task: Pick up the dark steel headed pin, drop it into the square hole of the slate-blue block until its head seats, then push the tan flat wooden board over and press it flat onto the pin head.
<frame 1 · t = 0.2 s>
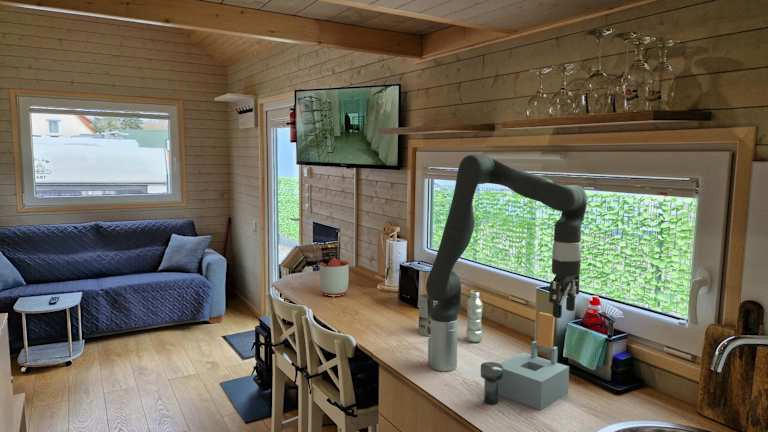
hand: (563, 313, 149), 29 cm above the table, tool pointing down, fingers open, 8 cm apart
coffee box: (431, 333, 219), on the table
pale green pot: (333, 294, 279), on the table
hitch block: (531, 392, 164), on the table
plastic bottle: (474, 341, 209), on the table
pin: (491, 401, 158), on the table
tan flat wooden board: (545, 332, 167), point 17 cm above the table, hinge at -95.0°
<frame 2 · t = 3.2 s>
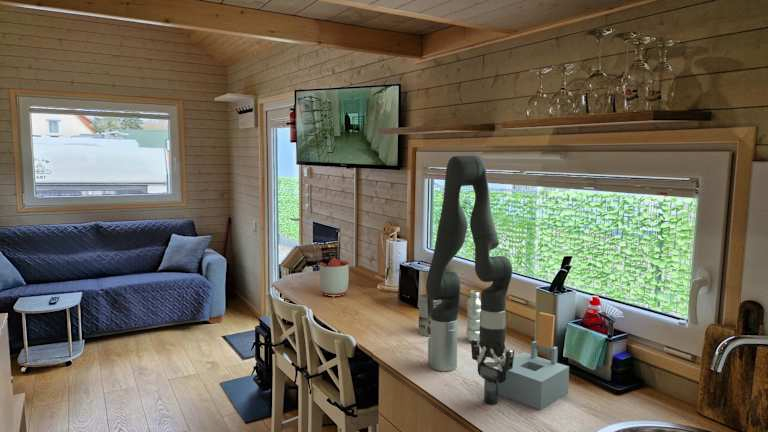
hand: (491, 378, 157), 7 cm above the table, tool pointing down, fingers closed on pin, 6 cm apart
pin: (490, 401, 158), on the table, touching gripper
everything else where it was.
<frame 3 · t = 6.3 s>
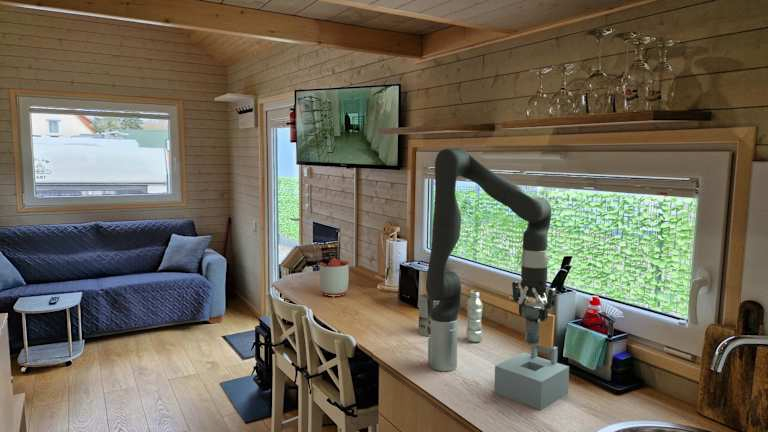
hand: (532, 318, 161), 24 cm above the table, tool pointing down, fingers closed on pin, 6 cm apart
pin: (532, 341, 162), point 17 cm above the table, touching gripper
everything else where it was.
when the fingers open (10 cm above the table, at t = 9.6 s): pin drops 2 cm, resting on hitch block.
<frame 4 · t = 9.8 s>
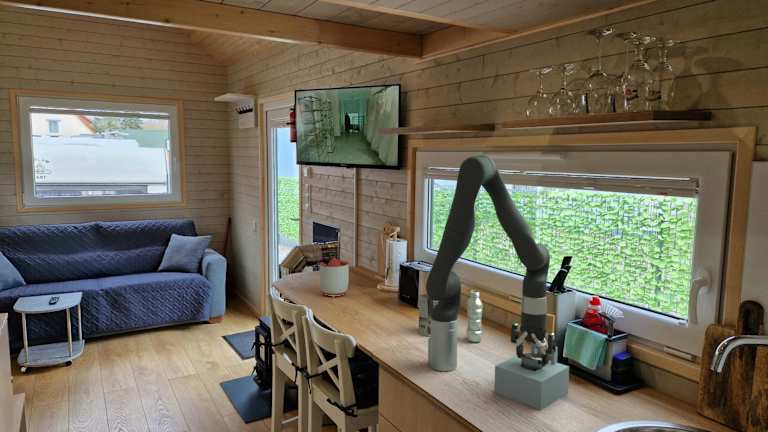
hand: (532, 361, 163), 10 cm above the table, tool pointing down, fingers open, 8 cm apart
pin: (530, 390, 164), resting on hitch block
everything else where it was.
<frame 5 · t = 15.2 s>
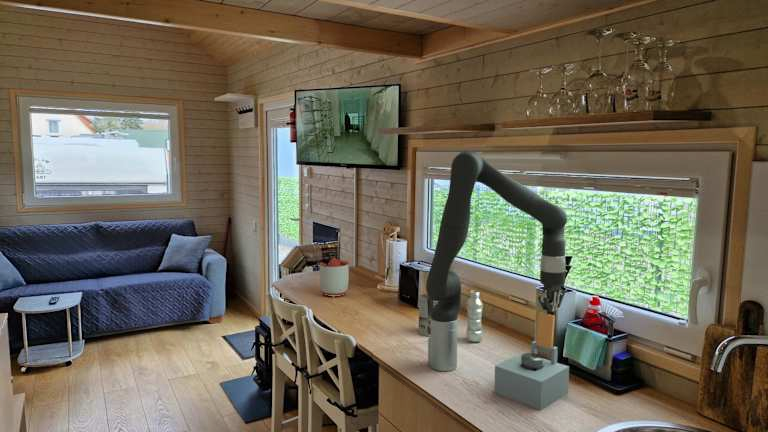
hand: (550, 322, 169), 20 cm above the table, tool pointing down, fingers closed
tan flat wooden board: (545, 332, 167), point 17 cm above the table, hinge at -94.6°, touching gripper
everything else where it was.
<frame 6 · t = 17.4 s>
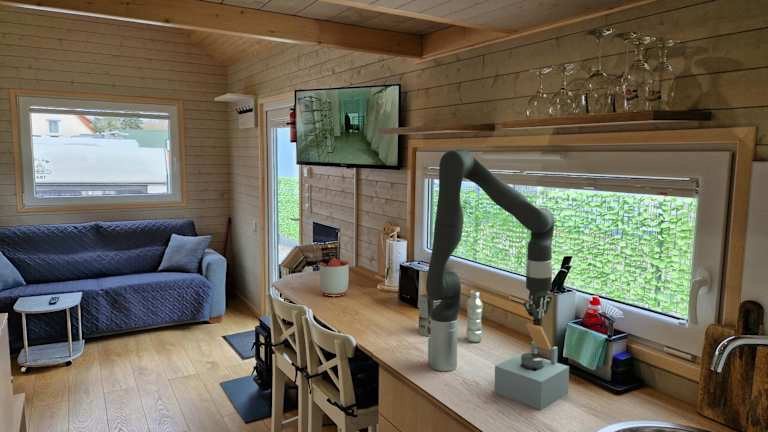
hand: (537, 328, 164), 20 cm above the table, tool pointing down, fingers closed
tan flat wooden board: (539, 338, 165), point 16 cm above the table, hinge at -53.2°, touching gripper
everything else where it was.
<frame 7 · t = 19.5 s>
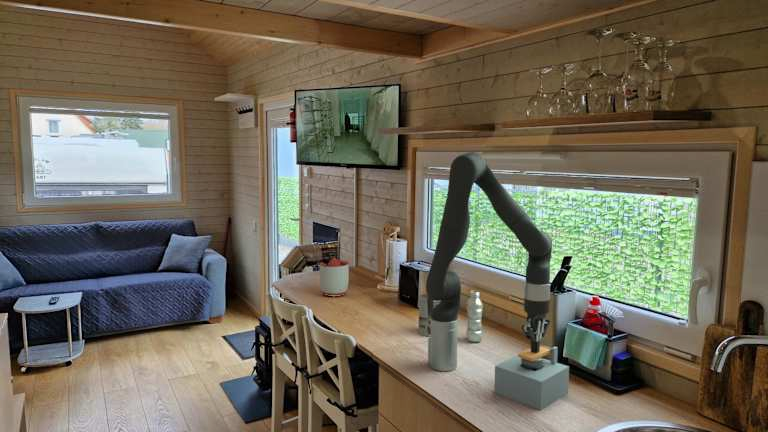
hand: (535, 351, 163), 13 cm above the table, tool pointing down, fingers closed
tan flat wooden board: (535, 352, 164), point 12 cm above the table, hinge at 0.0°, touching gripper
everything else where it was.
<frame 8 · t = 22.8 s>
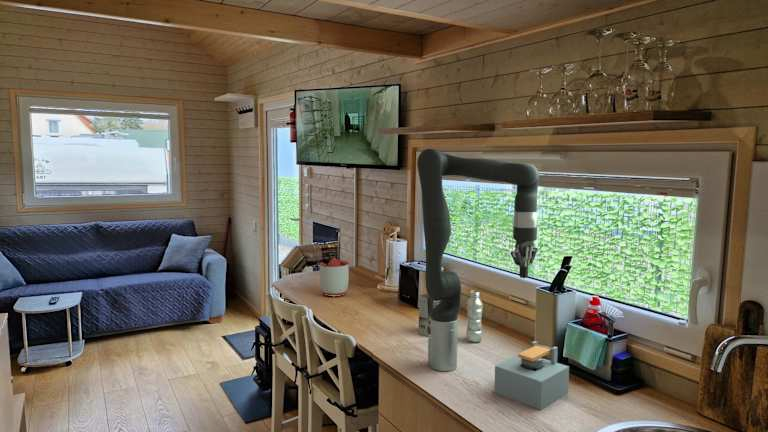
hand: (523, 277, 174), 33 cm above the table, tool pointing down, fingers closed
tan flat wooden board: (535, 352, 164), point 12 cm above the table, hinge at 0.1°
everything else where it was.
at the end: pin 0.1 cm off-centre on the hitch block, point 0.5 cm above the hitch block's base; pin tilted 0°; tan flat wooden board at +0° (first picture: -95°) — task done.
